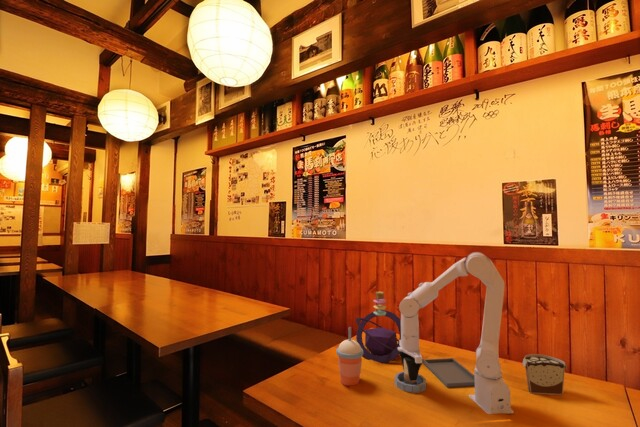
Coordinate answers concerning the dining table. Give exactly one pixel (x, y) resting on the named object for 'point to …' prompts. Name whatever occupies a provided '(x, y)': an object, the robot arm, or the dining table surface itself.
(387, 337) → the decorative bottle
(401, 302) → the robot arm
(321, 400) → the dining table surface
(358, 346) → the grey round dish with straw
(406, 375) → the dowel pin
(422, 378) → the grey round dish
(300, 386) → the dining table surface
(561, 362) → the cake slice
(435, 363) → the tray
